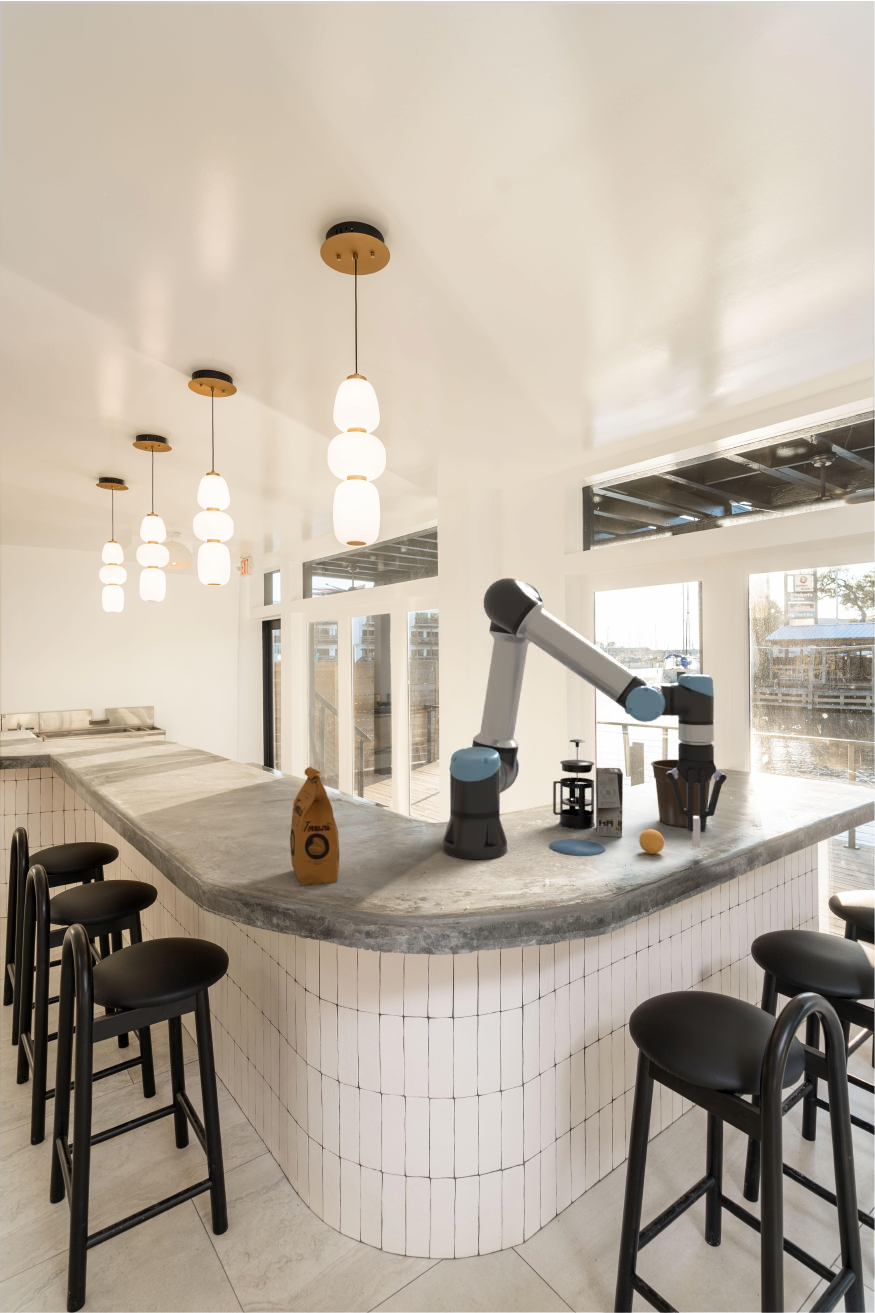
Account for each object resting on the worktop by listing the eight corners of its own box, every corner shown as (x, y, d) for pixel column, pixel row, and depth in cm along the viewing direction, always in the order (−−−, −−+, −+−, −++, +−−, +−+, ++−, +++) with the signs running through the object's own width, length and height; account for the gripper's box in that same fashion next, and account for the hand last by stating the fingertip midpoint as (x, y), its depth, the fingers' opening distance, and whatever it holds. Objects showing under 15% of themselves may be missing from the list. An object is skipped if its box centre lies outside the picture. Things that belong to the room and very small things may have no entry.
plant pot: (642, 824, 181) (643, 764, 181) (660, 812, 194) (660, 757, 194) (705, 833, 172) (706, 771, 172) (719, 820, 185) (720, 762, 185)
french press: (590, 819, 185) (591, 737, 185) (602, 829, 176) (602, 741, 176) (549, 820, 184) (549, 737, 184) (558, 829, 175) (558, 742, 175)
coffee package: (291, 888, 131) (291, 777, 131) (289, 868, 143) (289, 766, 143) (342, 884, 134) (342, 775, 134) (335, 865, 146) (335, 764, 146)
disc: (546, 852, 155) (546, 852, 155) (552, 837, 167) (552, 837, 167) (604, 857, 151) (604, 856, 151) (605, 842, 164) (605, 841, 164)
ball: (639, 855, 153) (639, 831, 153) (639, 849, 158) (639, 825, 158) (664, 857, 151) (664, 833, 151) (663, 851, 157) (663, 827, 157)
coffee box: (623, 837, 168) (623, 773, 168) (596, 836, 169) (597, 772, 169) (620, 828, 177) (620, 767, 176) (595, 827, 178) (595, 766, 178)
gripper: (724, 741, 154) (724, 843, 154) (664, 739, 157) (665, 839, 157) (729, 745, 146) (729, 852, 147) (666, 743, 150) (667, 848, 150)
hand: (696, 845), depth 152 cm, fingers closed
